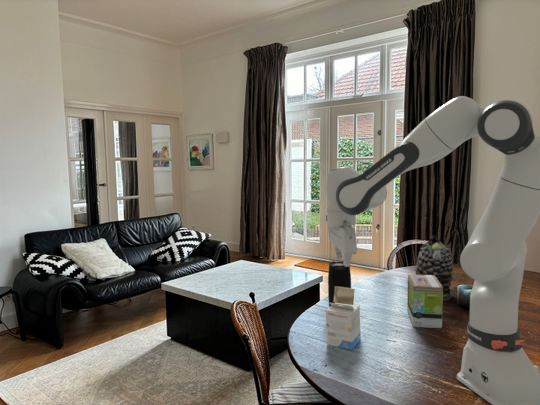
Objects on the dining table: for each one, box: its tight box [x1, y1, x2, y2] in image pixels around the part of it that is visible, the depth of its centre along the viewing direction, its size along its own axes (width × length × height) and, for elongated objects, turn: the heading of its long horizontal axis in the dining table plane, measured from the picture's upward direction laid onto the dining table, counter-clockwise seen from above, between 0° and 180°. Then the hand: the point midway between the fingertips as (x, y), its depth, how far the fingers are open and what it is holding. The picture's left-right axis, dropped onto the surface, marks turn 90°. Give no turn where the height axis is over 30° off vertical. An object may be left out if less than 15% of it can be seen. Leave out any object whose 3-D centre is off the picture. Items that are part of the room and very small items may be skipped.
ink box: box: [325, 303, 362, 351], centre depth 130 cm, size 9×8×13 cm
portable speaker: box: [327, 260, 352, 308], centre depth 154 cm, size 9×9×20 cm
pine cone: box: [414, 234, 454, 301], centre depth 170 cm, size 21×15×25 cm
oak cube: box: [333, 286, 356, 305], centre depth 130 cm, size 5×5×5 cm
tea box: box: [406, 273, 444, 329], centre depth 146 cm, size 15×10×15 cm, turn 168°
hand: (342, 262), depth 128 cm, fingers open, 8 cm apart
